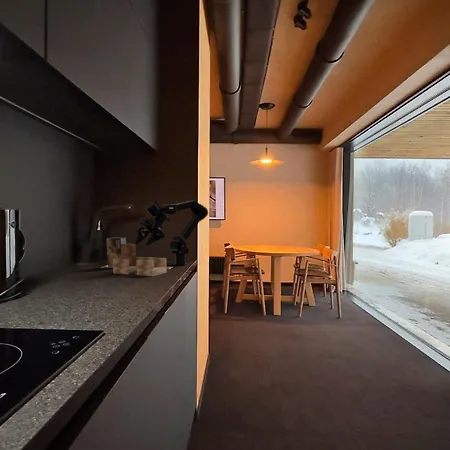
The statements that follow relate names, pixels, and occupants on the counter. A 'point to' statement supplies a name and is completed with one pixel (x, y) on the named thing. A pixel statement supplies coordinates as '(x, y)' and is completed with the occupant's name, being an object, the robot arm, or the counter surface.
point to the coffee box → (114, 249)
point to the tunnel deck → (140, 266)
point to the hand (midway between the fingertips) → (140, 244)
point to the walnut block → (129, 253)
